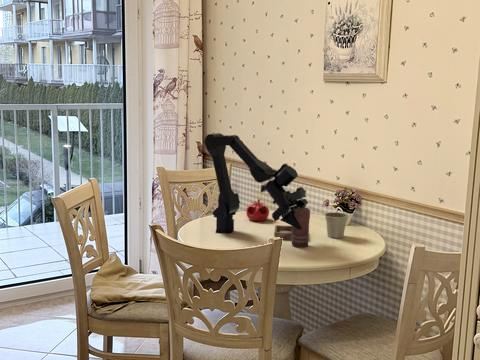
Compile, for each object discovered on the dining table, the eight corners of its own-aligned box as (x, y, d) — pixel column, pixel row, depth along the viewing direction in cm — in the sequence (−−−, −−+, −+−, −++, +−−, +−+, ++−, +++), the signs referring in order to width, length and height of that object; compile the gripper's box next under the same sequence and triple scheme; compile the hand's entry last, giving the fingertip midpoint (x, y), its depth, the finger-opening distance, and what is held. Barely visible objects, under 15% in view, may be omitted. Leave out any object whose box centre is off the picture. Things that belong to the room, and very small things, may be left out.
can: (308, 248, 205) (309, 210, 203) (290, 247, 206) (292, 209, 204) (309, 243, 211) (311, 207, 209) (292, 242, 212) (293, 206, 210)
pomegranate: (247, 217, 252) (247, 196, 251) (270, 218, 251) (270, 197, 249) (244, 222, 242) (244, 200, 241) (268, 222, 241) (268, 201, 240)
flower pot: (332, 231, 229) (333, 211, 227) (352, 236, 222) (353, 215, 221) (318, 235, 222) (319, 214, 221) (338, 241, 216) (339, 218, 214)
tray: (274, 239, 217) (274, 232, 216) (275, 231, 228) (275, 225, 228) (304, 240, 216) (304, 234, 215) (304, 232, 227) (304, 226, 227)
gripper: (280, 184, 199) (307, 219, 195) (304, 177, 214) (330, 209, 210) (260, 203, 205) (286, 237, 201) (285, 195, 220) (310, 227, 216)
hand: (304, 227), depth 207 cm, fingers closed on can, 5 cm apart
